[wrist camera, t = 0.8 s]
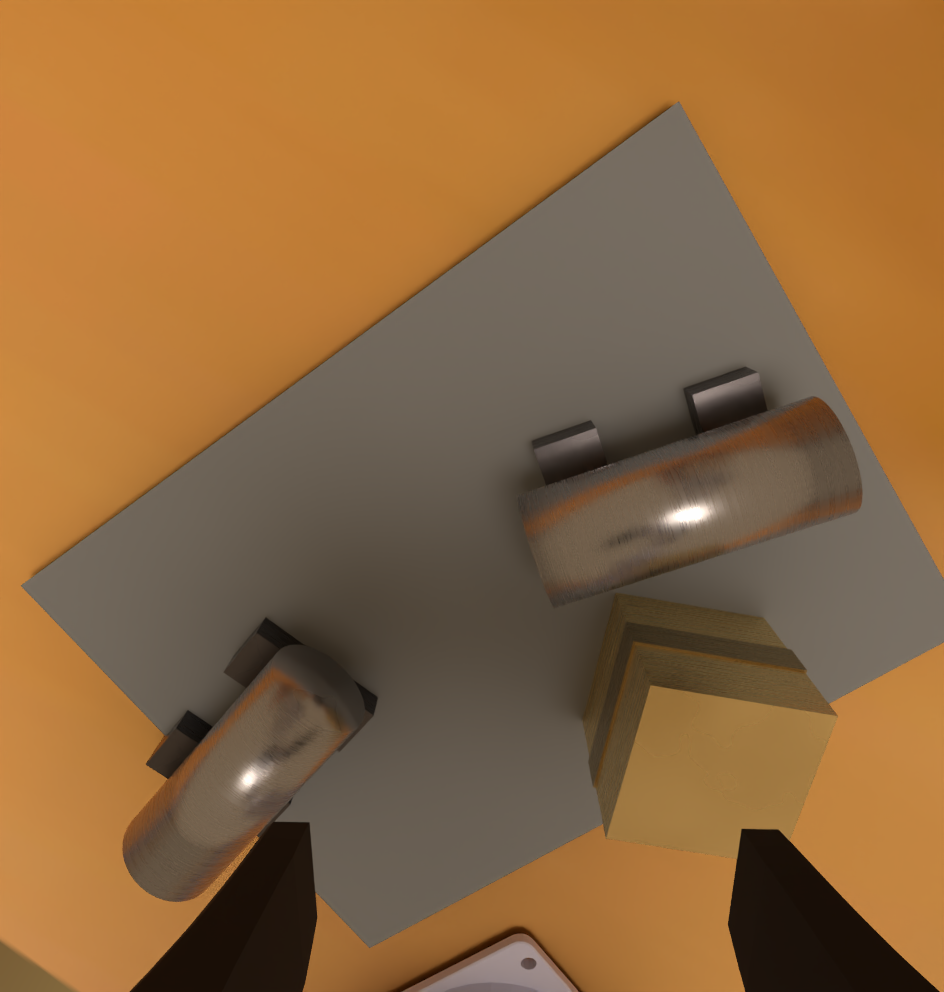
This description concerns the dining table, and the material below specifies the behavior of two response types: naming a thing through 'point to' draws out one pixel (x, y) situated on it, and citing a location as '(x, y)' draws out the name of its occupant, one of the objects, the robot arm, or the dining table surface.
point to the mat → (487, 530)
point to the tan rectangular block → (700, 727)
